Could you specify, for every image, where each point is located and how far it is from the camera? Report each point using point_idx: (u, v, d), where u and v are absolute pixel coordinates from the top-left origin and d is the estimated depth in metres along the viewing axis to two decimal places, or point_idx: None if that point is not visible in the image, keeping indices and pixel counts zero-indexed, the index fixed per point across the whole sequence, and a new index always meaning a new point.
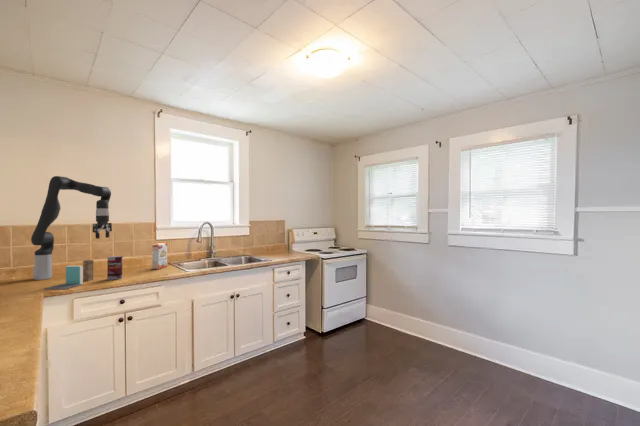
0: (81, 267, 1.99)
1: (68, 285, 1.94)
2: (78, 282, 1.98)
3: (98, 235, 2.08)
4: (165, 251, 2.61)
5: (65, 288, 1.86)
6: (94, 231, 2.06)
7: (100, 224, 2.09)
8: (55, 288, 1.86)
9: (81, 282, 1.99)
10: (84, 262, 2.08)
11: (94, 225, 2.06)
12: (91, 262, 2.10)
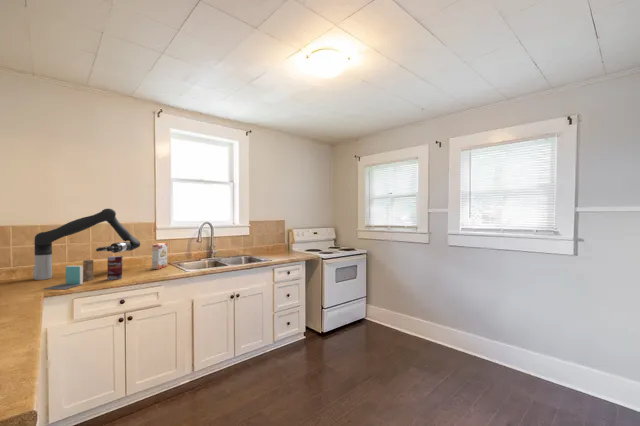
0: (81, 267, 1.99)
1: (68, 285, 1.94)
2: (78, 282, 1.98)
3: (110, 250, 2.24)
4: (165, 251, 2.61)
5: (65, 288, 1.86)
6: (116, 249, 2.27)
7: None
8: (55, 288, 1.86)
9: (81, 282, 1.99)
10: (84, 262, 2.08)
11: (120, 248, 2.31)
12: (91, 262, 2.10)
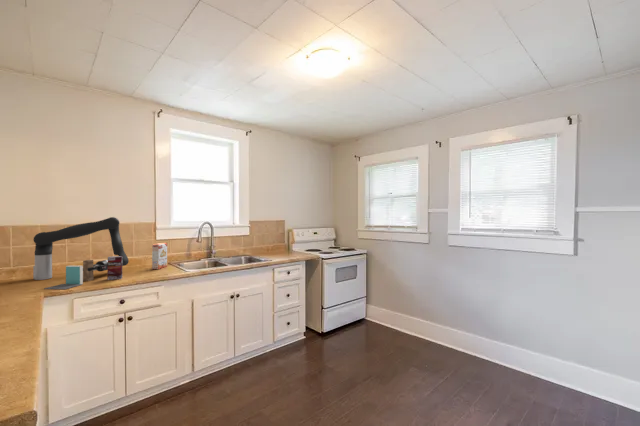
0: (81, 267, 1.99)
1: (68, 285, 1.94)
2: (78, 282, 1.98)
3: (91, 270, 2.09)
4: (165, 251, 2.61)
5: (65, 288, 1.86)
6: (97, 268, 2.12)
7: None
8: (55, 288, 1.86)
9: (81, 282, 1.99)
10: (84, 262, 2.08)
11: (103, 267, 2.15)
12: (91, 262, 2.10)
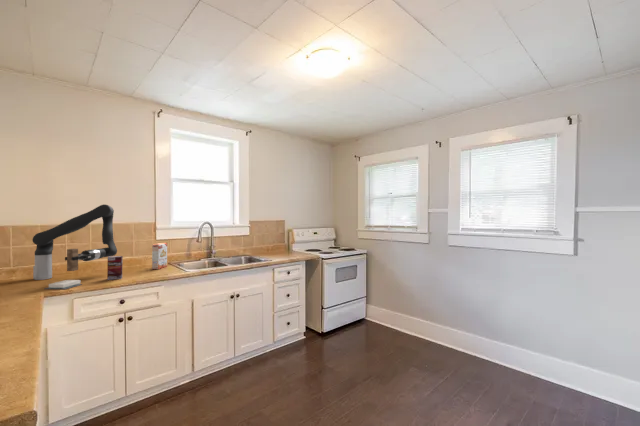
0: (64, 285, 1.87)
1: None
2: None
3: (75, 259, 1.97)
4: (165, 251, 2.61)
5: (65, 288, 1.86)
6: (82, 258, 2.00)
7: None
8: (55, 288, 1.86)
9: (79, 282, 1.97)
10: (68, 251, 1.96)
11: (89, 256, 2.03)
12: (76, 251, 1.98)
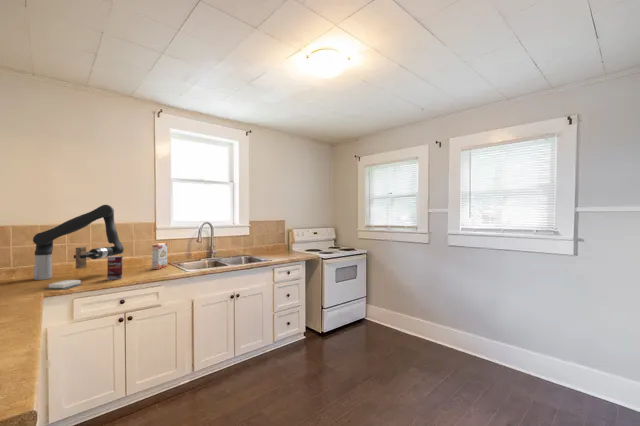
0: (64, 285, 1.87)
1: None
2: None
3: (83, 257, 2.04)
4: (165, 251, 2.61)
5: (65, 288, 1.86)
6: (90, 256, 2.06)
7: None
8: (55, 288, 1.86)
9: (79, 282, 1.97)
10: (76, 249, 2.02)
11: (96, 255, 2.10)
12: (84, 249, 2.05)
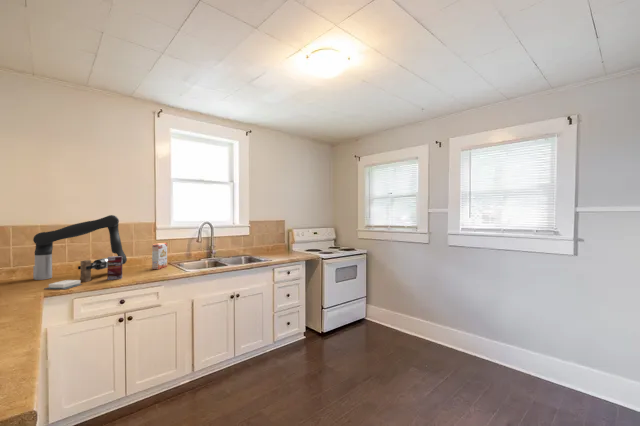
0: (64, 285, 1.87)
1: None
2: None
3: (89, 268, 2.07)
4: (165, 251, 2.61)
5: (65, 288, 1.86)
6: (96, 267, 2.10)
7: None
8: (55, 288, 1.86)
9: (79, 282, 1.97)
10: (82, 262, 2.06)
11: (102, 265, 2.14)
12: (89, 262, 2.08)
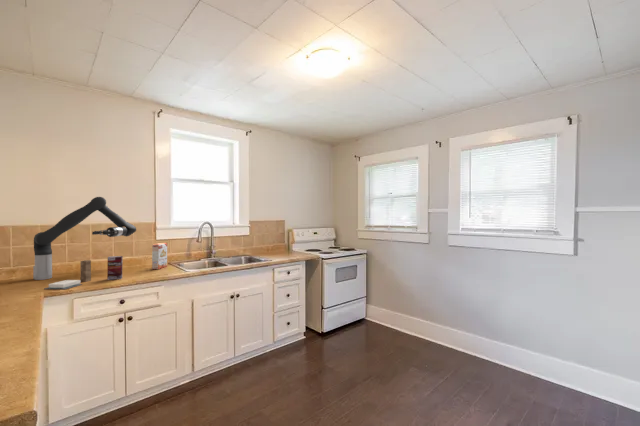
0: (64, 285, 1.87)
1: None
2: None
3: (106, 234, 2.25)
4: (165, 251, 2.61)
5: (65, 288, 1.86)
6: (112, 233, 2.28)
7: (111, 233, 2.33)
8: (55, 288, 1.86)
9: (79, 282, 1.97)
10: (81, 262, 2.06)
11: (116, 232, 2.32)
12: (89, 262, 2.08)
